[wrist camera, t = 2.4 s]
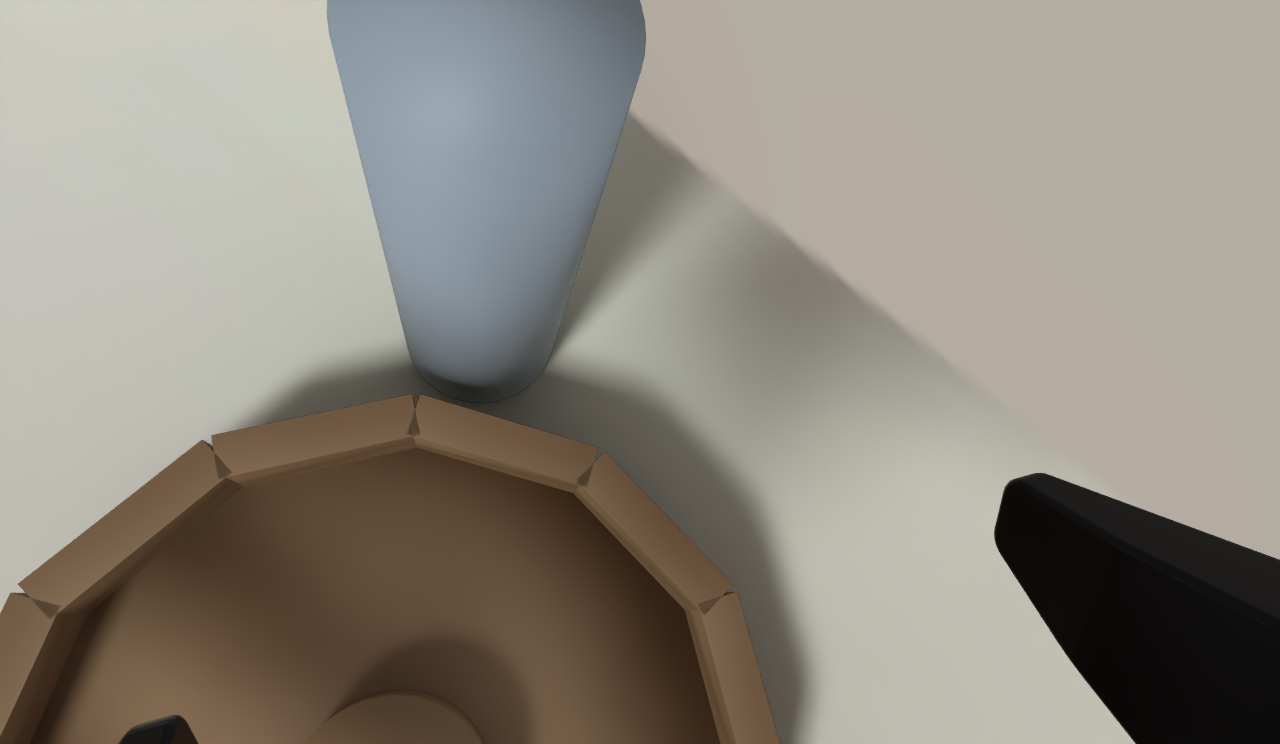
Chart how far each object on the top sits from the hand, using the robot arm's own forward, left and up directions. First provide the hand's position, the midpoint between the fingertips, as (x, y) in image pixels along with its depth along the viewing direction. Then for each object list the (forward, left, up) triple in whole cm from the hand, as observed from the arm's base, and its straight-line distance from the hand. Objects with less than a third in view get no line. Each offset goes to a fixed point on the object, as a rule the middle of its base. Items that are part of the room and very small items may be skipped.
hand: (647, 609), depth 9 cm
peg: (+4, +6, -13) cm, 15 cm away
